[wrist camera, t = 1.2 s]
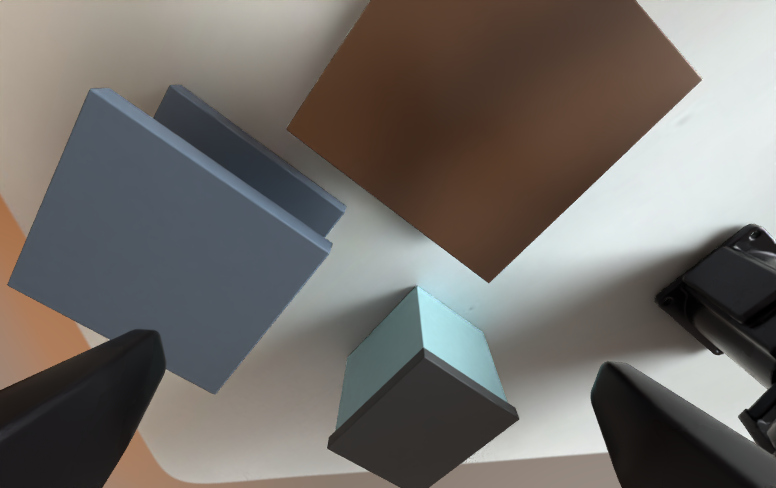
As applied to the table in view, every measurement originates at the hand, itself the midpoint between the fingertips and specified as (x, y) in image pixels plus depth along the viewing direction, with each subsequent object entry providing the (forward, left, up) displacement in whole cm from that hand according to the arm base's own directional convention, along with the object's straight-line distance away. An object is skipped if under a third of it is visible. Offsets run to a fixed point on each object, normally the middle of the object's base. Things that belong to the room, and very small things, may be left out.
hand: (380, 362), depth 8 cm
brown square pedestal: (0, -6, -14) cm, 15 cm away
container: (-8, +7, -14) cm, 17 cm away
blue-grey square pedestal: (+6, +7, -14) cm, 17 cm away
